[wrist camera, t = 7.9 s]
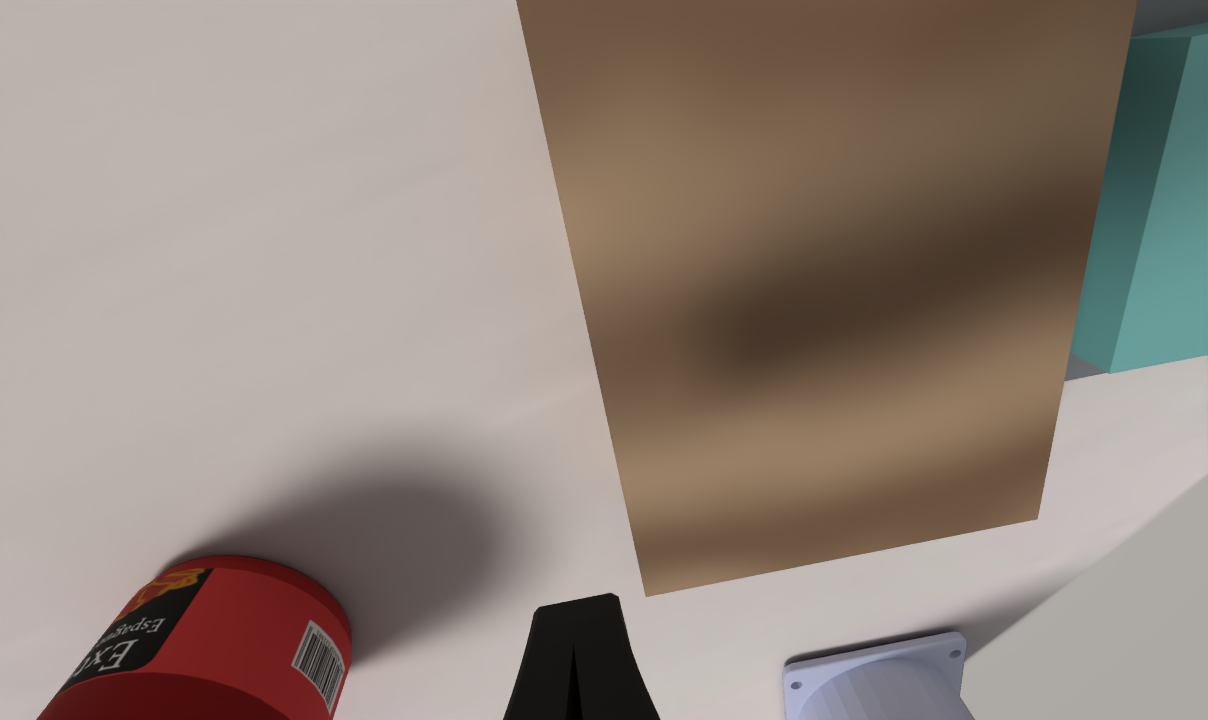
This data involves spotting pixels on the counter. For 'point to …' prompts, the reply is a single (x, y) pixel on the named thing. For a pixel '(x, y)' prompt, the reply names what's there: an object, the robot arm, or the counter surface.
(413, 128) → the counter surface
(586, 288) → the board
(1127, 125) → the teal rectangular block
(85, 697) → the canned food
